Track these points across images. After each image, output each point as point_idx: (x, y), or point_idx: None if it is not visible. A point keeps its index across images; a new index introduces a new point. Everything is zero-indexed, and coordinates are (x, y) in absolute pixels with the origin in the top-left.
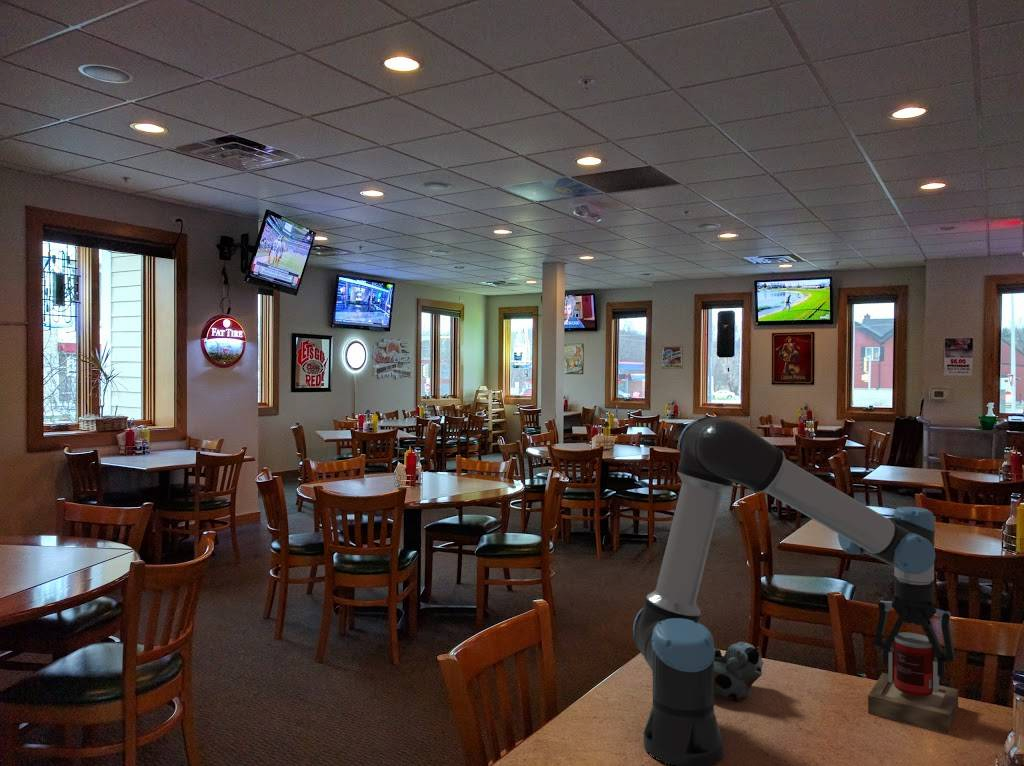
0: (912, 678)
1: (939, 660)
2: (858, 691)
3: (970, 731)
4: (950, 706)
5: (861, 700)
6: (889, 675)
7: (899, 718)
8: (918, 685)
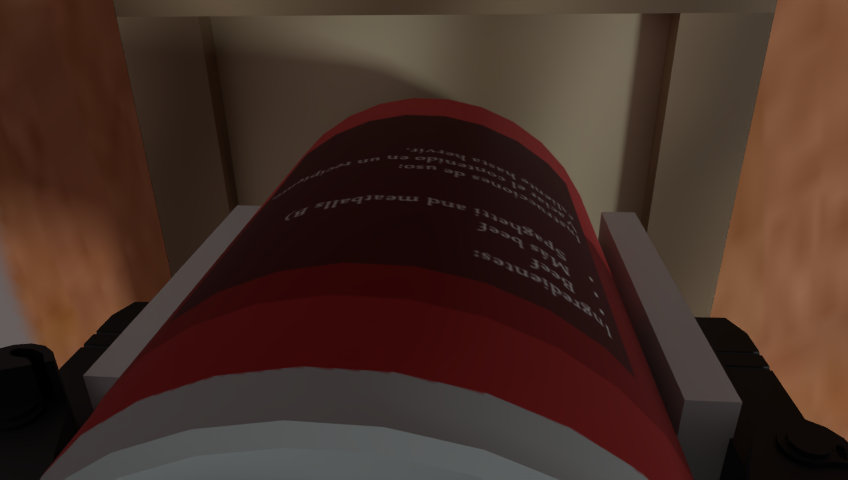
0: (394, 133)
1: (14, 374)
2: (798, 273)
3: (90, 65)
4: (150, 124)
5: (779, 136)
6: (640, 237)
7: None
8: (348, 129)
